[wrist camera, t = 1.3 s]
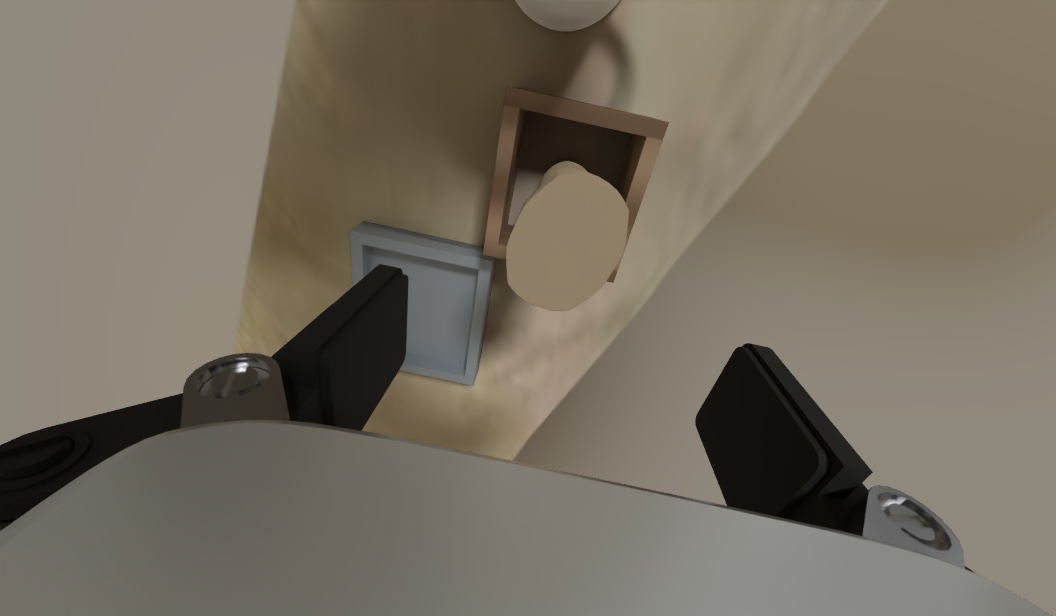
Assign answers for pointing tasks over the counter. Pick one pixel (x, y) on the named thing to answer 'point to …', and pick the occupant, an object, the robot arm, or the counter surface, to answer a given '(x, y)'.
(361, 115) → the counter surface
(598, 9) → the mug
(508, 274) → the handle
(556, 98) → the holder
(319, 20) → the counter surface
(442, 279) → the tray
